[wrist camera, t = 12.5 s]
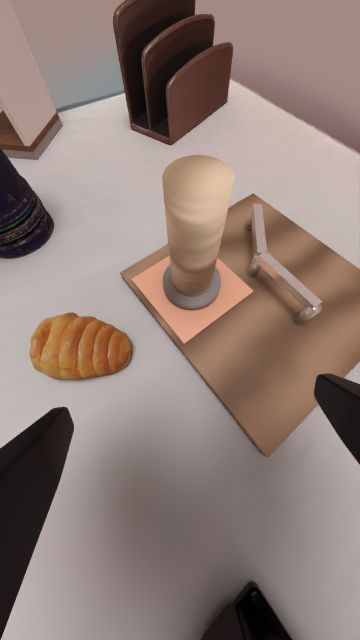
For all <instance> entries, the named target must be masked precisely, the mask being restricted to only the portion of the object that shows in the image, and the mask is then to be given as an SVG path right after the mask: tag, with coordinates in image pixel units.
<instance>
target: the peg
mask: <svg viewBox="0 0 360 640" xmlns="http://www.w3.org/2000/svg"><path fill="white" fill-rule="evenodd" d="M162 180H163V191H164V202H165V213H166V224H167V235H168V246H169V257H170V265H169V266H168V267H167V268H166V270H165V272H164V274H163V288H164V292H165V295H166V297H167V299H168V300H169V301H170V302H171V303H172V304H173V305H175V306H176V307H178V308H181V309H184V310H199V309H203V308H205V307H207V306H209V305H210V304H211V303H212V302H213V301H214V300H215V299H216V297H217V295H218V293H219V290H220V286H221V276H220V273H219V271H218V269H217V268H216V267H215V266H216V261H217V257H218V252H219V248H220V243H221V239H222V234H223V230H224V225H225V221H226V216H227V212H228V207H229V203H230V198H231V194H232V189H233V185H234V180H235V177H234V173H233V171H232V169H231V168H230V167H229V166H228V165H227V164H226V163H225V162H223V161H221V160H219V159H217V158H214V157H210V156H204V155H193V156H186V157H182V158H180V159H177V160H175V161H173V162H172V163H171V164H169V165H168V166H167V167H166V169H165V170H164V172H163V176H162Z"/></svg>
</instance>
